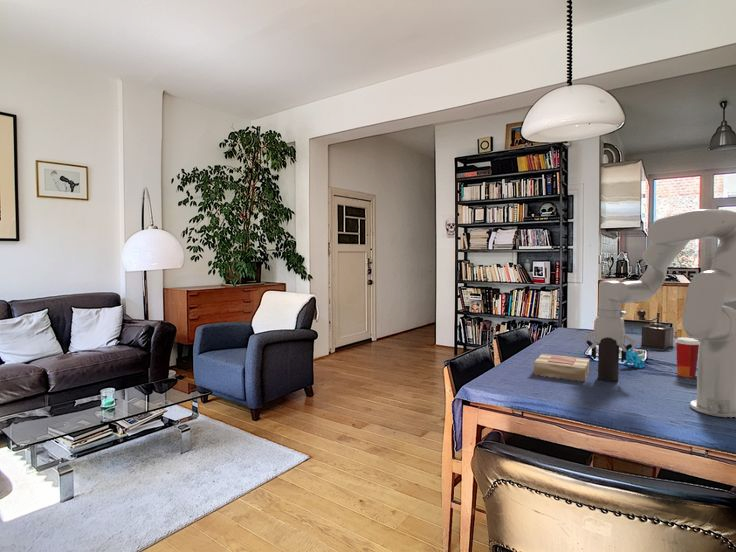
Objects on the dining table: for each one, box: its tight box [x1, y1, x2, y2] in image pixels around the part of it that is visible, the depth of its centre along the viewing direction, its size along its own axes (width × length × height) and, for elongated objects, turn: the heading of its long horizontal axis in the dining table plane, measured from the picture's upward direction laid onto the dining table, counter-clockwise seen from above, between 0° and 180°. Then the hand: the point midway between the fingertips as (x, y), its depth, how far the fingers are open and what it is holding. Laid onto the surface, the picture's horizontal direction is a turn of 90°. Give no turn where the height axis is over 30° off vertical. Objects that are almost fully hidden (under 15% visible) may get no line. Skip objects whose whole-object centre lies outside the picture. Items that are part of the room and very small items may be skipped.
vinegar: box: [597, 337, 620, 382], centre depth 167 cm, size 7×7×20 cm
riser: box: [533, 353, 591, 383], centre depth 176 cm, size 16×18×5 cm
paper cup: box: [674, 337, 700, 378], centre depth 171 cm, size 8×8×14 cm
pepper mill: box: [636, 309, 674, 349], centre depth 221 cm, size 16×11×18 cm
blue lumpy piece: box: [623, 347, 646, 369], centre depth 186 cm, size 11×6×10 cm
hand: (608, 359), depth 167 cm, fingers open, 8 cm apart
